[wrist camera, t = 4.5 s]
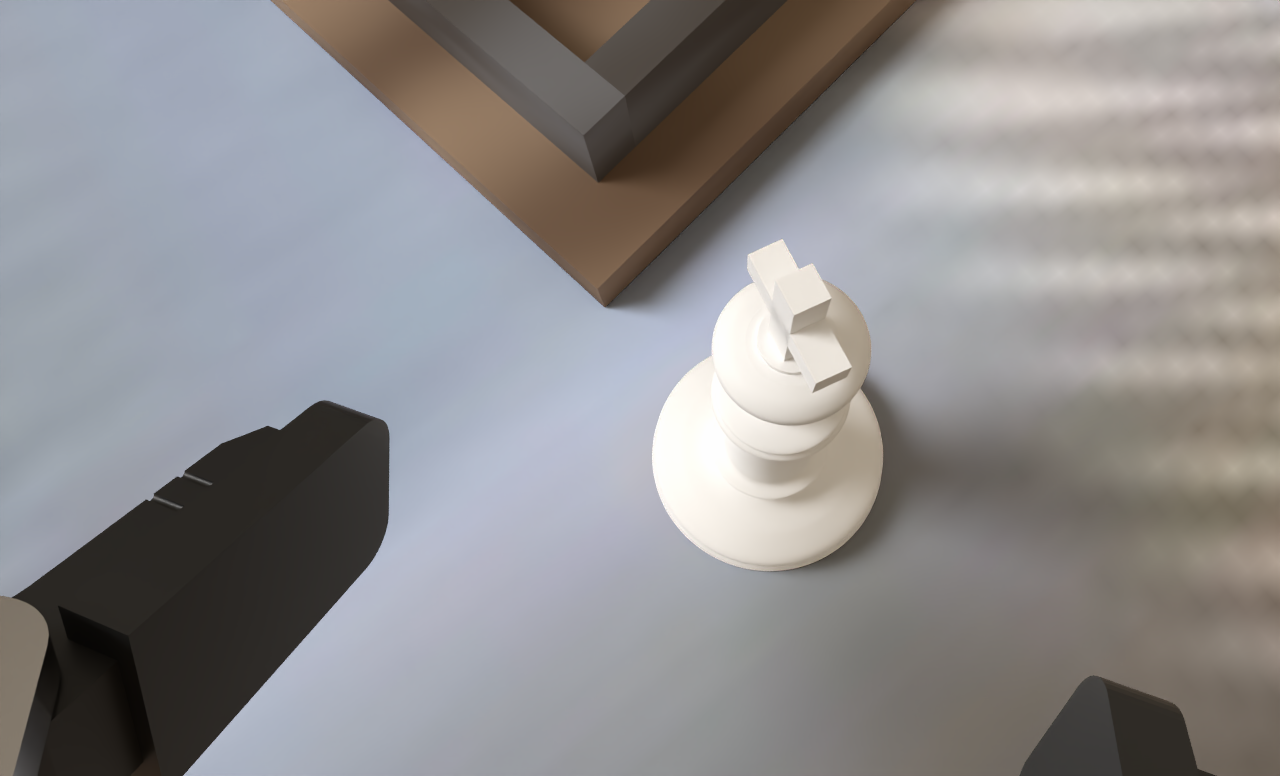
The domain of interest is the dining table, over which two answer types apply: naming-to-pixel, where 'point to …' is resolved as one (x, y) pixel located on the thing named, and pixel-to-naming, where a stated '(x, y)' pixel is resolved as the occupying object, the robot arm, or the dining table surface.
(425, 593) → the dining table surface
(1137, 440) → the dining table surface
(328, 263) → the dining table surface
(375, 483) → the robot arm
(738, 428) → the chess piece
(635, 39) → the walnut stand
